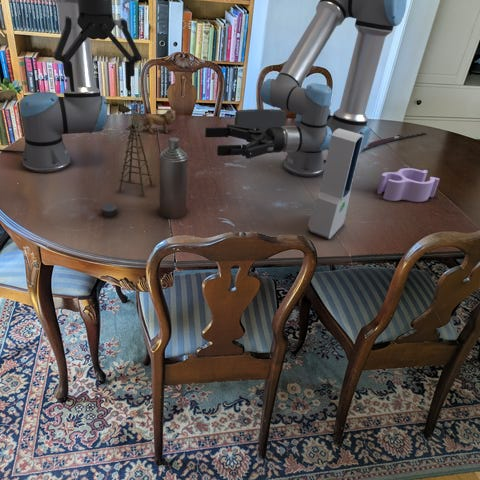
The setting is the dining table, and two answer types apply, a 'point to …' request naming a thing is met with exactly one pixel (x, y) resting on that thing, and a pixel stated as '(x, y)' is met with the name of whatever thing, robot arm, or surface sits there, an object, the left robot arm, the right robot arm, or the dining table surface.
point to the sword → (386, 139)
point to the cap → (109, 210)
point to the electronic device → (336, 183)
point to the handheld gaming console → (260, 118)
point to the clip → (407, 185)
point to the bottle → (173, 180)
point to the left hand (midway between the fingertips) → (101, 90)
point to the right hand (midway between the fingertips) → (211, 141)
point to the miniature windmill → (134, 129)
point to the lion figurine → (160, 120)
